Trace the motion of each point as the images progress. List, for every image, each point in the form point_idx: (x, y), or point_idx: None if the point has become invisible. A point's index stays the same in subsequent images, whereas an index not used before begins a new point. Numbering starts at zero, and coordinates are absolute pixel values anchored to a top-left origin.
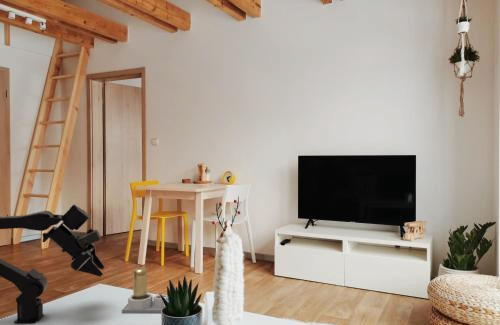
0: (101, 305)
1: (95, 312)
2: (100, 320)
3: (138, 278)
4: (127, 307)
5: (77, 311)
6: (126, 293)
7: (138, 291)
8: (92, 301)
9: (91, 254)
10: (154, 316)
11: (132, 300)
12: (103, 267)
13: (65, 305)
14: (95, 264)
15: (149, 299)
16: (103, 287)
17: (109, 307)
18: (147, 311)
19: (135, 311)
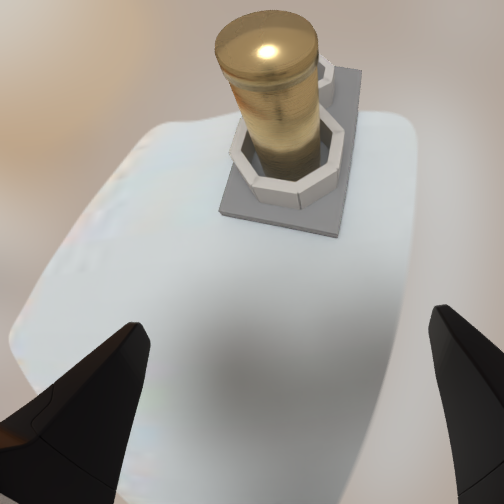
0: (203, 341)
1: (291, 359)
2: (398, 321)
3: (317, 75)
4: (306, 212)
5: (257, 435)
6: (92, 247)
7: (319, 124)
8: (144, 380)
9: (36, 487)
10: (380, 119)
11: (338, 170)
12: (142, 332)
13: (172, 475)
14: (121, 417)
15: (320, 107)
16: (24, 335)
17: (238, 303)
18: (354, 135)
19: (347, 178)
